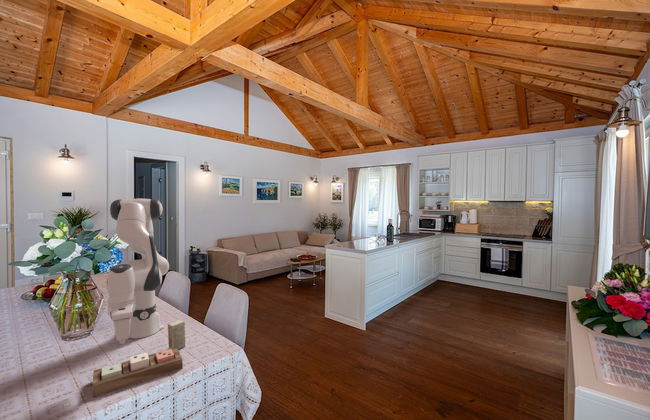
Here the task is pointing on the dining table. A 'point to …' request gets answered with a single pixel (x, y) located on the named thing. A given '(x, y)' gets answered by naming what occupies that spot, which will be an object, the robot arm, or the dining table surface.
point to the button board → (135, 374)
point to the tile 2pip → (139, 361)
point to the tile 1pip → (111, 371)
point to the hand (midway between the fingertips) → (122, 342)
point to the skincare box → (176, 334)
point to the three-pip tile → (164, 356)
